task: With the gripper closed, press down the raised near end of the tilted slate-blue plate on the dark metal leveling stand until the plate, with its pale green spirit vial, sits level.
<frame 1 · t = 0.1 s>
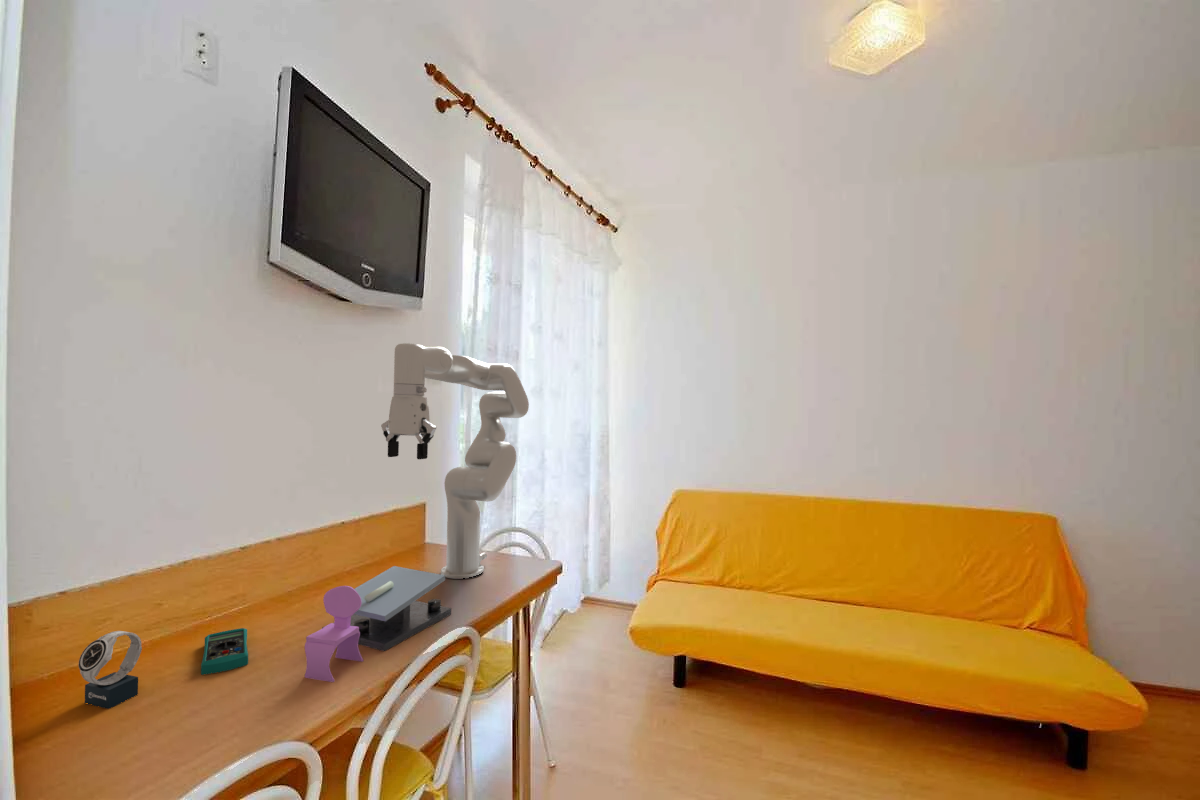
hand: (407, 457, 137), 37 cm above the table, tool pointing down, fingers open, 9 cm apart
digital multimeter: (225, 658, 105), on the table
toy chair: (334, 670, 101), on the table
watch: (111, 700, 89), on the table
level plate: (389, 587, 121), point 8 cm above the table, hinge at 9.0°
leveling stand: (389, 623, 121), on the table
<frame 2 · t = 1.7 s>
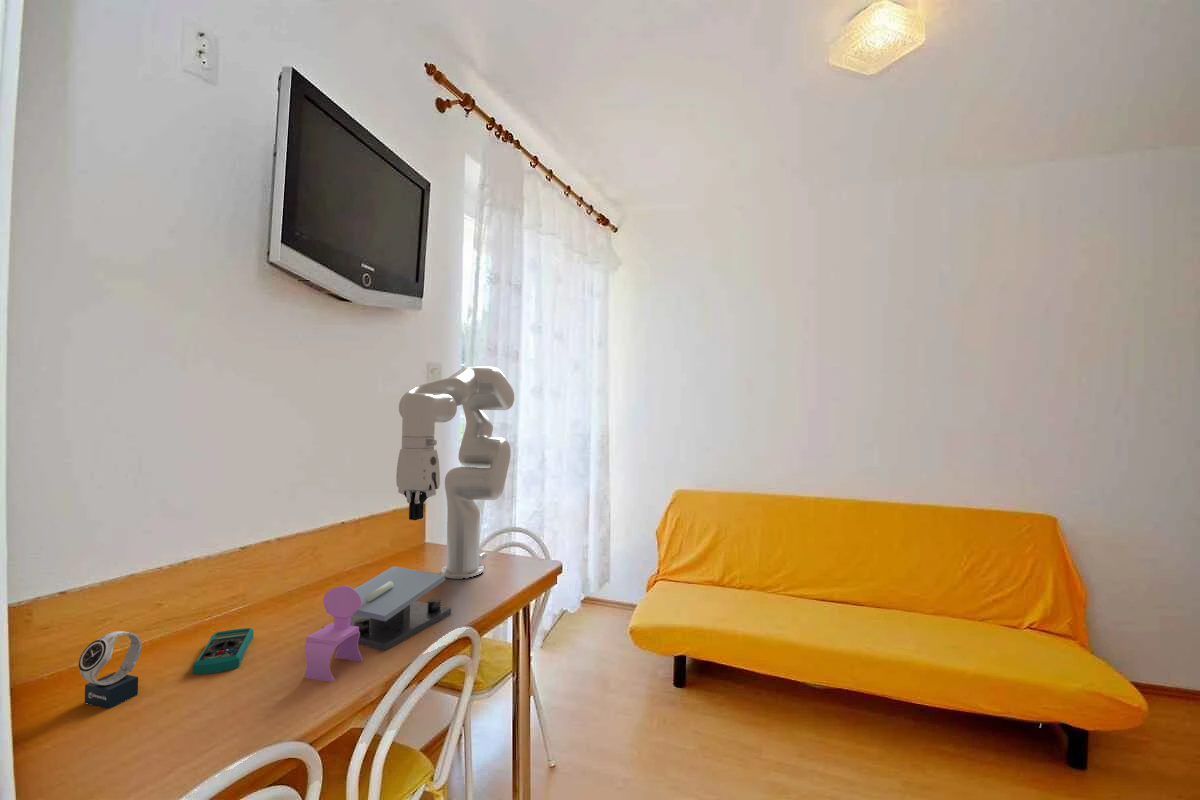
hand: (416, 518, 129), 23 cm above the table, tool pointing down, fingers closed
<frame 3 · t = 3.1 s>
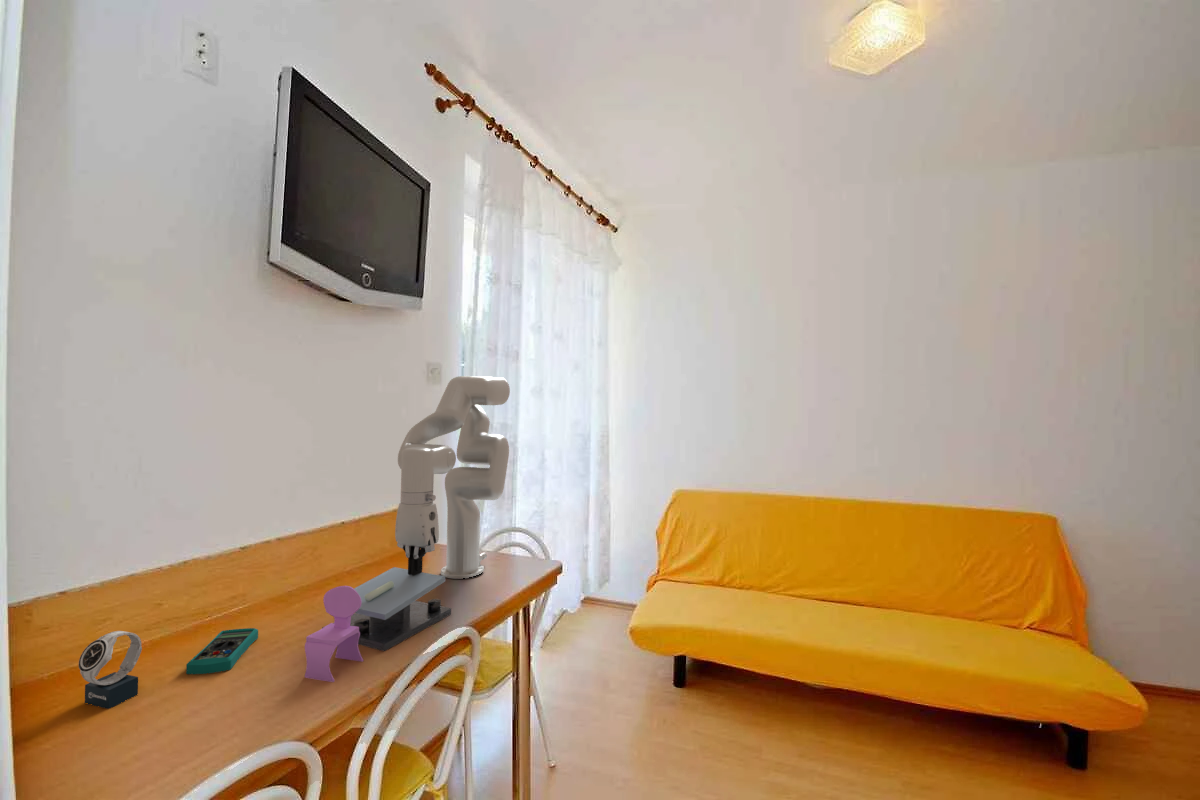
hand: (415, 573, 129), 9 cm above the table, tool pointing down, fingers closed
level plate: (389, 587, 121), point 8 cm above the table, hinge at 7.1°, touching gripper
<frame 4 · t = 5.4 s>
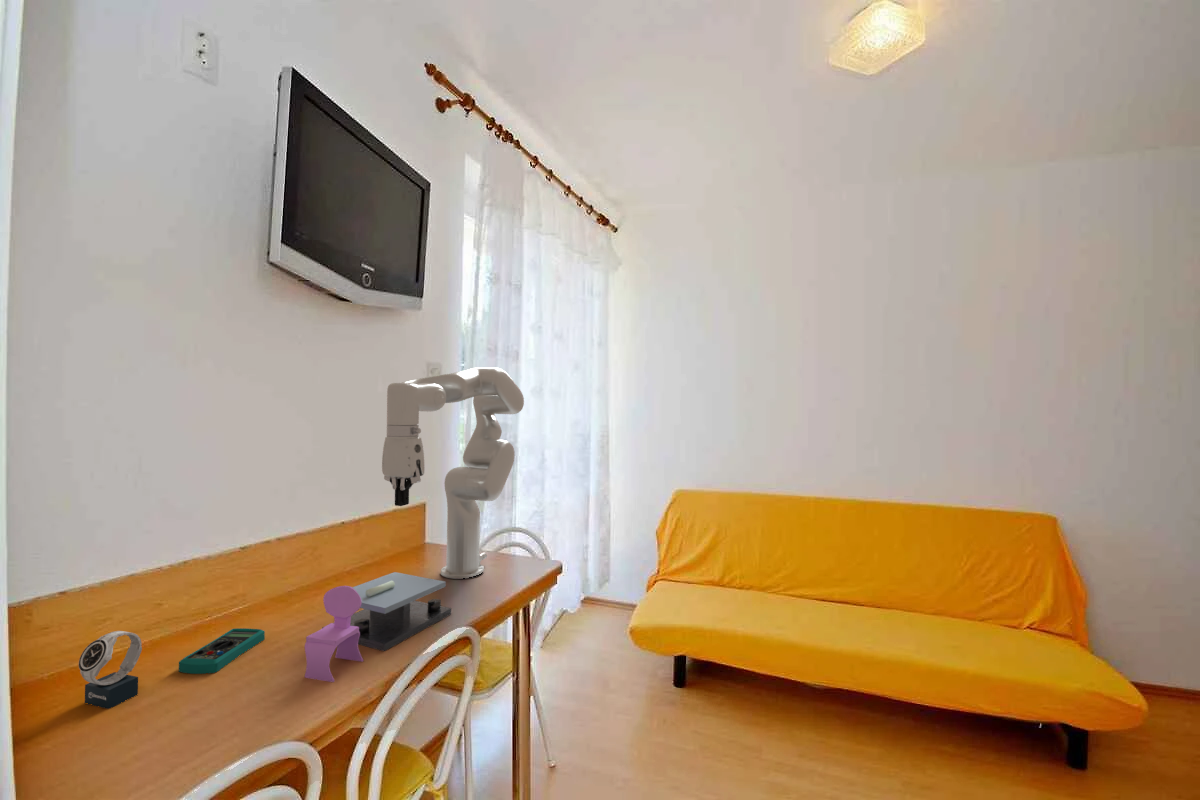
hand: (401, 504, 133), 25 cm above the table, tool pointing down, fingers closed
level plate: (390, 587, 122), point 8 cm above the table, hinge at -0.9°
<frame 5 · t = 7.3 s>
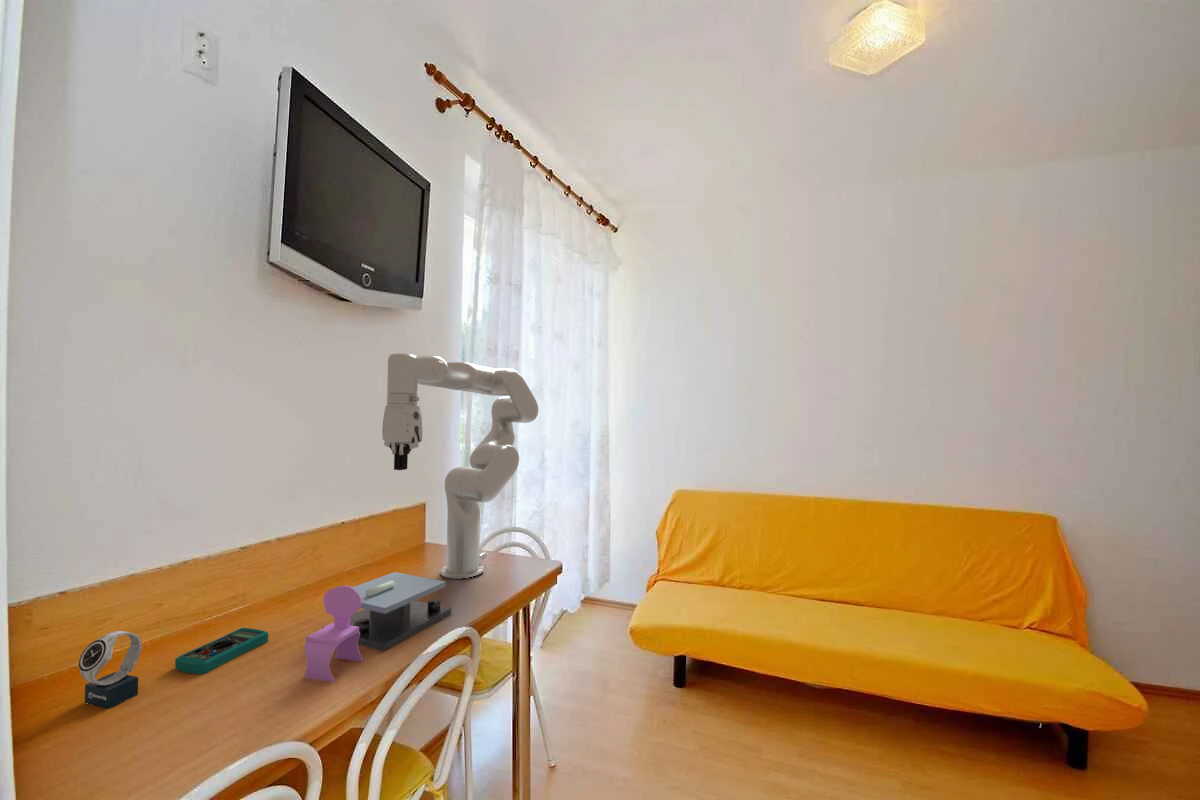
hand: (400, 469, 140), 33 cm above the table, tool pointing down, fingers closed
at the end: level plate at -1° (first picture: +9°); toy chair moved 0.3 cm from its start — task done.
